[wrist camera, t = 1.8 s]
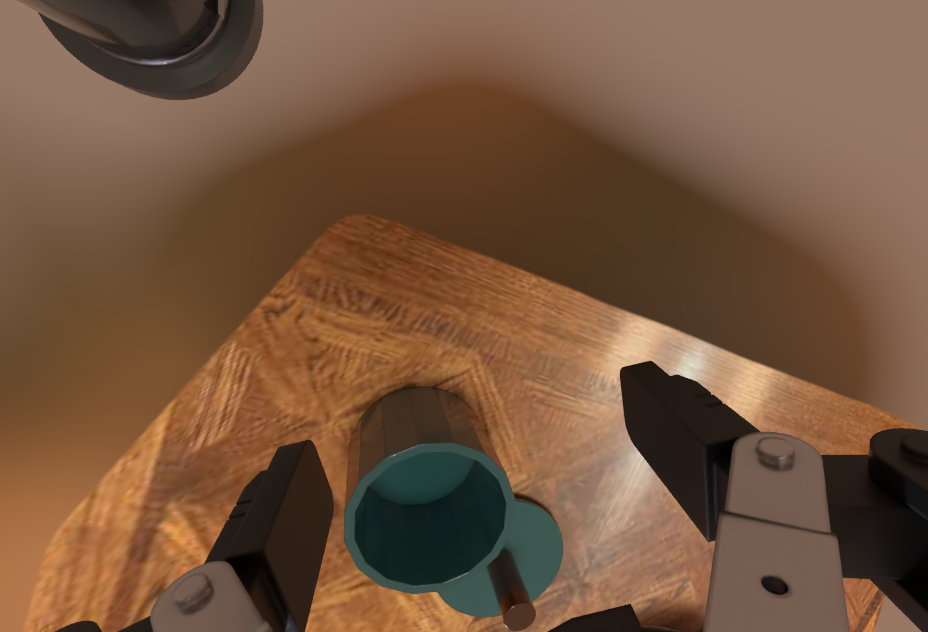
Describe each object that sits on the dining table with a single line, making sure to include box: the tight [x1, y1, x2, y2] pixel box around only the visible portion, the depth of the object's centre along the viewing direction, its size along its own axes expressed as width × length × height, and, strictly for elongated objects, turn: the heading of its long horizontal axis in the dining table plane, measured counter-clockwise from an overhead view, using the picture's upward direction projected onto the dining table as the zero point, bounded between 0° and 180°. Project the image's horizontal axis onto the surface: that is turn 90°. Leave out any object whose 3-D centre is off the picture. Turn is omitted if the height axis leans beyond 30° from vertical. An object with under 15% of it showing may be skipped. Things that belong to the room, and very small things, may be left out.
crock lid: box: [438, 498, 563, 631], centre depth 37 cm, size 11×11×7 cm
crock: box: [344, 387, 515, 594], centre depth 32 cm, size 10×10×8 cm
